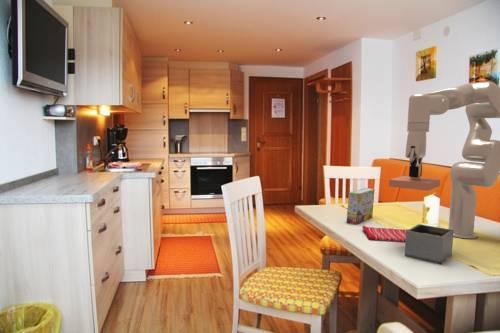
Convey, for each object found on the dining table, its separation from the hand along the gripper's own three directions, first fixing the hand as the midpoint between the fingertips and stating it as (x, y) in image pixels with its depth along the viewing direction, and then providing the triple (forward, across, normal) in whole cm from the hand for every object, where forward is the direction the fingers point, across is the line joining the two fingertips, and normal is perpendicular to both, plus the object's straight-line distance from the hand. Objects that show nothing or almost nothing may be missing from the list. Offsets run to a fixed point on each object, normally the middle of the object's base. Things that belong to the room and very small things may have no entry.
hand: (415, 176), depth 145 cm
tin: (+27, +8, +8) cm, 29 cm away
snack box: (+27, -27, -32) cm, 50 cm away
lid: (+4, 0, 0) cm, 4 cm away
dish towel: (+28, -8, -9) cm, 30 cm away
